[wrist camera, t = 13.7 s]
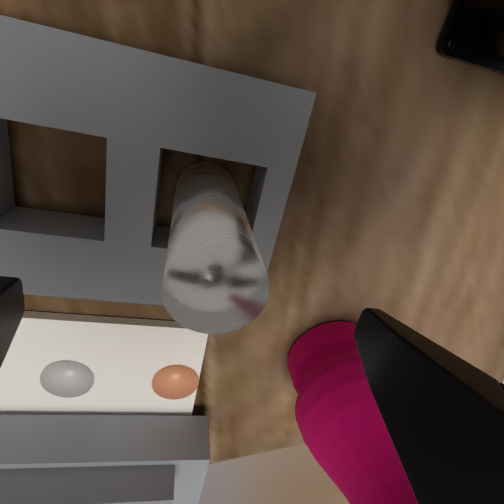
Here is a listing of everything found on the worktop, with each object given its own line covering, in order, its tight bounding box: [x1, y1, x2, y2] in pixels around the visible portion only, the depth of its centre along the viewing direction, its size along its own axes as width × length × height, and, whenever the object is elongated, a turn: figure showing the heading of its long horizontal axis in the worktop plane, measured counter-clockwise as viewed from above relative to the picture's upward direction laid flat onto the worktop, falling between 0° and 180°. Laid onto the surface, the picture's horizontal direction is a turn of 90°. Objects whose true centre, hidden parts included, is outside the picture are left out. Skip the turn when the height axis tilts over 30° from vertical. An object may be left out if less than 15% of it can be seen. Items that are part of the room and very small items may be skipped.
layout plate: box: [0, 311, 208, 416], centre depth 21 cm, size 16×9×1 cm, turn 77°
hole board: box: [0, 15, 317, 306], centre depth 15 cm, size 20×11×2 cm, turn 78°
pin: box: [162, 161, 270, 334], centre depth 13 cm, size 3×3×9 cm
